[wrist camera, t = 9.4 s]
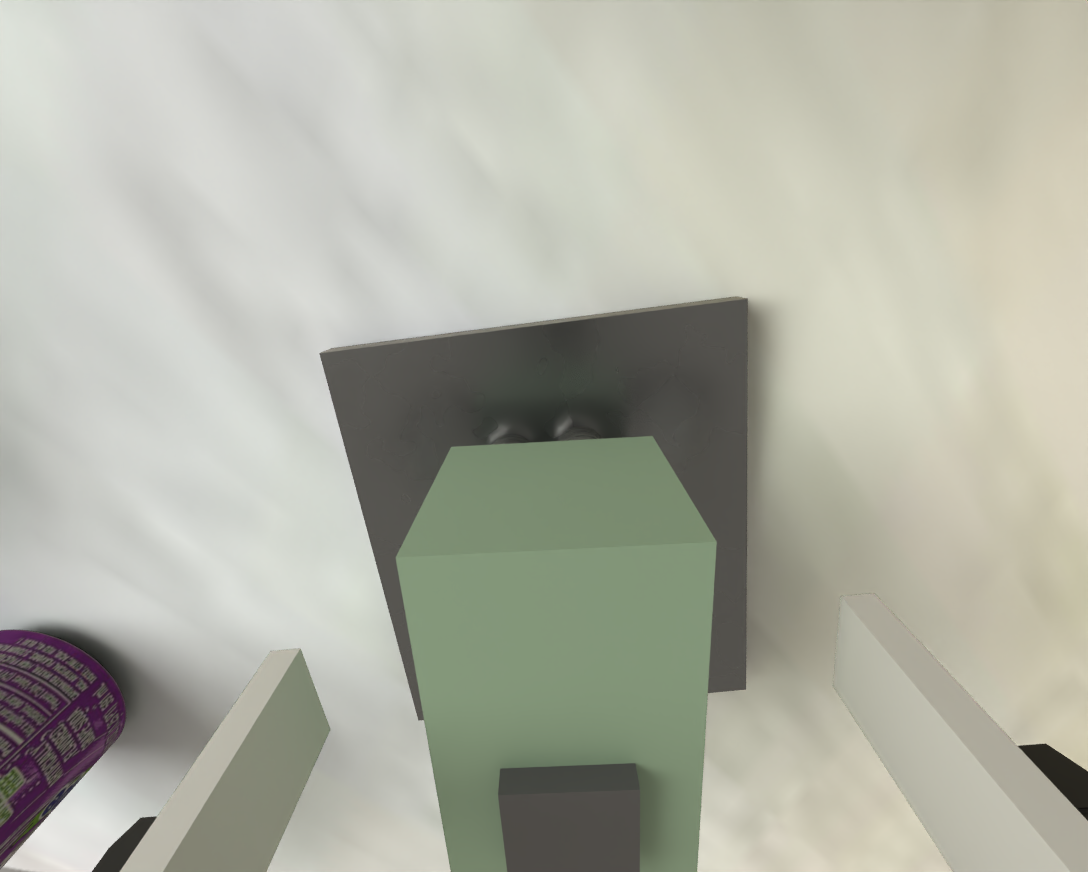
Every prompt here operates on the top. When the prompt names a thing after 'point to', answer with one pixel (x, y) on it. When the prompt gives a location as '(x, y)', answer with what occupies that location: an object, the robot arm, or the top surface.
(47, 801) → the beverage can
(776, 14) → the top surface
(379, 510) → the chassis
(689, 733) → the green block
